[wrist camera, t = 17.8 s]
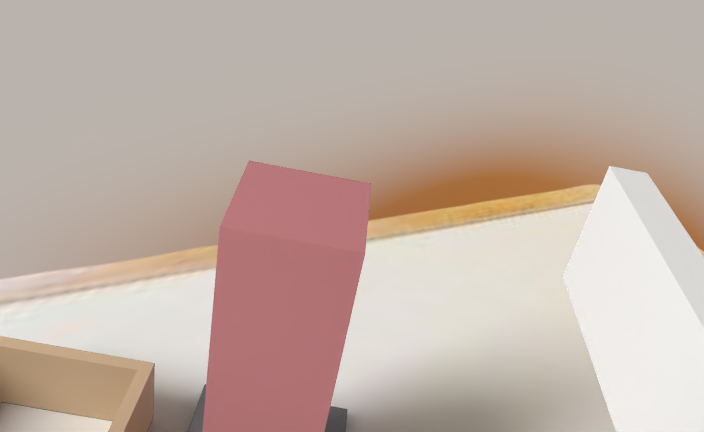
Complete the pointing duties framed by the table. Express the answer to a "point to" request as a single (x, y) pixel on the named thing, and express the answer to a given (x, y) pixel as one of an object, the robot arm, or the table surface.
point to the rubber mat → (333, 428)
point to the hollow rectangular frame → (78, 383)
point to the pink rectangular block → (283, 299)
